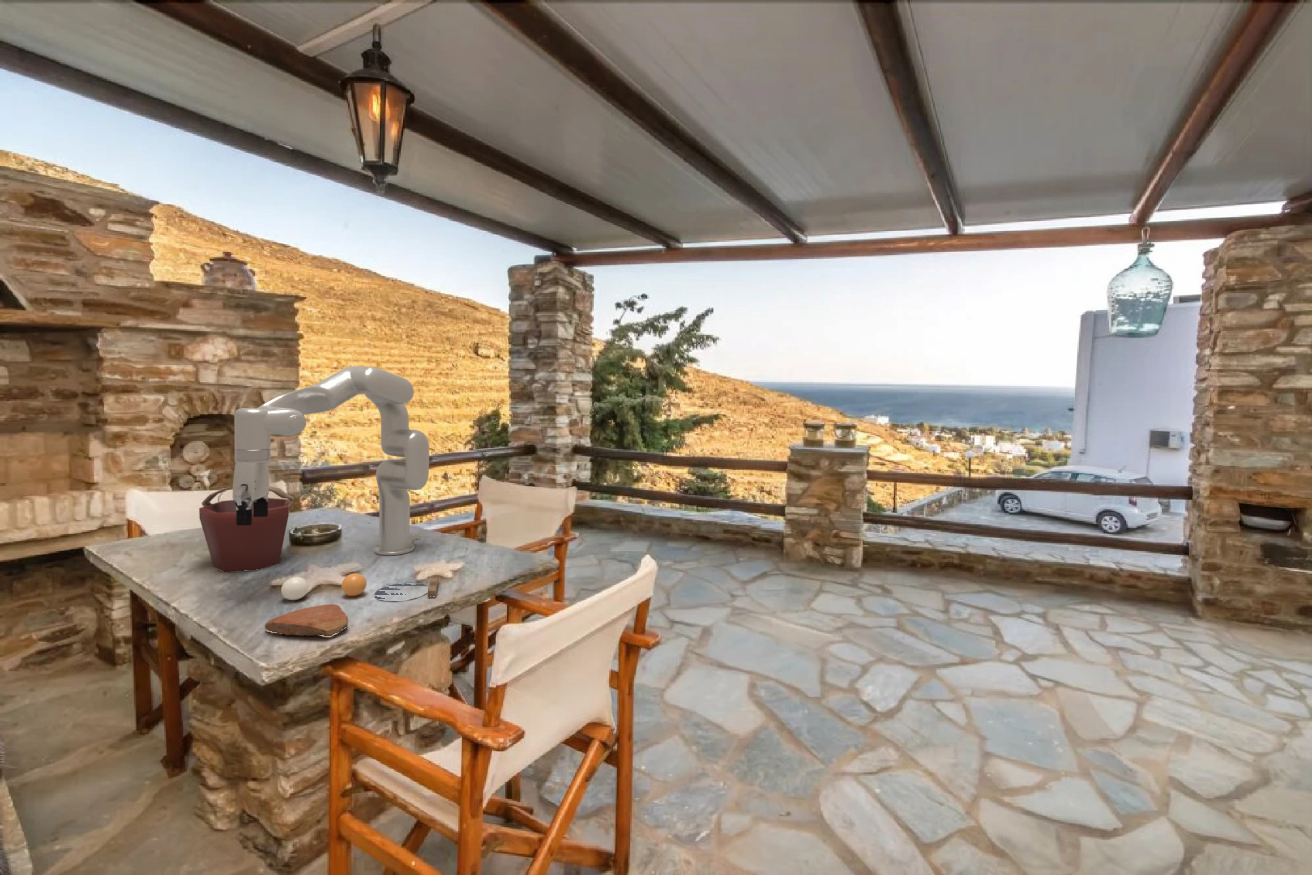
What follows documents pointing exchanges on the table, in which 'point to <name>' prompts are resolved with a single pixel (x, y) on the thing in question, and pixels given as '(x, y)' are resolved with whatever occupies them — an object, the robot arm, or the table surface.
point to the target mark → (393, 589)
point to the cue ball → (294, 588)
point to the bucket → (244, 533)
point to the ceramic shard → (310, 621)
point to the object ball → (354, 584)
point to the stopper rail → (433, 586)
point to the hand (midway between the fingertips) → (252, 520)
